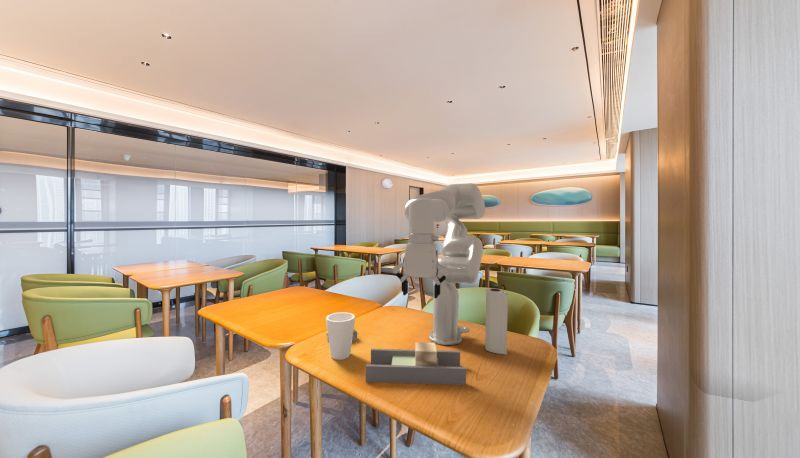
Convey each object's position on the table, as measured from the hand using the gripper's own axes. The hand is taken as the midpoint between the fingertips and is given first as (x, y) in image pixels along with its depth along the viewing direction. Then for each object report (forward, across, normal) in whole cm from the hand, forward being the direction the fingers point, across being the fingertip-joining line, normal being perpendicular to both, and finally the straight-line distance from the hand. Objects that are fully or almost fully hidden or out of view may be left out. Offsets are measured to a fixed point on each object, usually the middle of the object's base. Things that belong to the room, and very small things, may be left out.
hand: (420, 295), depth 89 cm
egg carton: (+23, +33, -11) cm, 42 cm away
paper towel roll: (+23, -22, -21) cm, 38 cm away
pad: (+23, +4, +4) cm, 23 cm away
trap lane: (+23, +1, +3) cm, 23 cm away
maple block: (+20, -2, +2) cm, 20 cm away
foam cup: (+23, +28, 0) cm, 36 cm away
